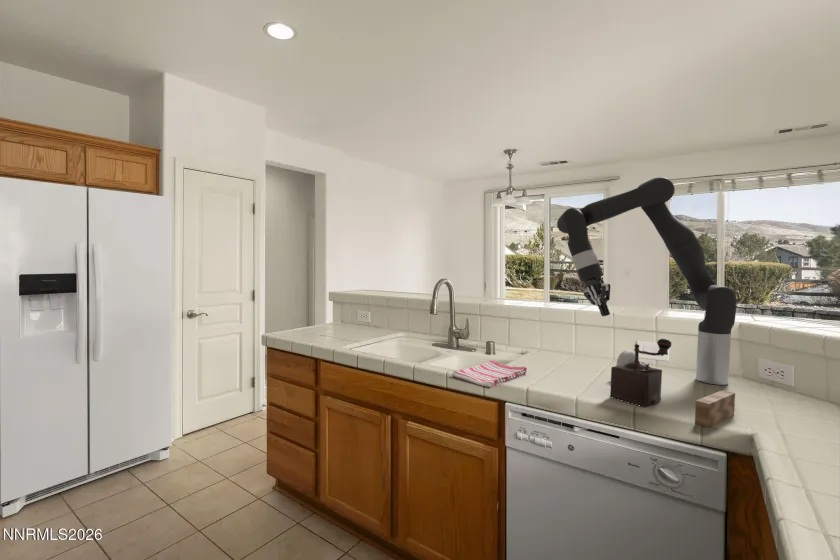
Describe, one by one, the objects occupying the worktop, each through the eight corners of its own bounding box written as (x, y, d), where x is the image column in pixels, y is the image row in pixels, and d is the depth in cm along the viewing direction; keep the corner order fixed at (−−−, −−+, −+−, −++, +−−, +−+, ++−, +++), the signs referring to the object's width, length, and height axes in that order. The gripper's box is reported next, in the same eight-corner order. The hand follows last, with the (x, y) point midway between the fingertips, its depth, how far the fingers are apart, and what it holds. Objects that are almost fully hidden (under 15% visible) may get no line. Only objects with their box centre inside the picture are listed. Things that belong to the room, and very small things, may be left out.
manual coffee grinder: (646, 408, 116) (649, 344, 115) (609, 397, 125) (611, 338, 124) (672, 398, 125) (675, 339, 124) (635, 388, 134) (637, 333, 133)
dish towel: (528, 376, 148) (528, 366, 148) (490, 390, 131) (490, 379, 131) (489, 366, 160) (489, 357, 160) (450, 378, 143) (450, 368, 143)
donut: (623, 381, 141) (624, 352, 141) (613, 378, 144) (614, 350, 144) (638, 377, 147) (640, 349, 147) (629, 374, 150) (630, 347, 149)
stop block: (721, 411, 114) (722, 390, 114) (734, 414, 112) (735, 393, 111) (694, 423, 105) (696, 400, 105) (708, 427, 103) (709, 404, 102)
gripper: (608, 257, 132) (628, 309, 129) (586, 268, 145) (604, 315, 142) (587, 263, 131) (607, 315, 128) (568, 273, 144) (585, 321, 140)
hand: (606, 315), depth 135 cm, fingers closed
